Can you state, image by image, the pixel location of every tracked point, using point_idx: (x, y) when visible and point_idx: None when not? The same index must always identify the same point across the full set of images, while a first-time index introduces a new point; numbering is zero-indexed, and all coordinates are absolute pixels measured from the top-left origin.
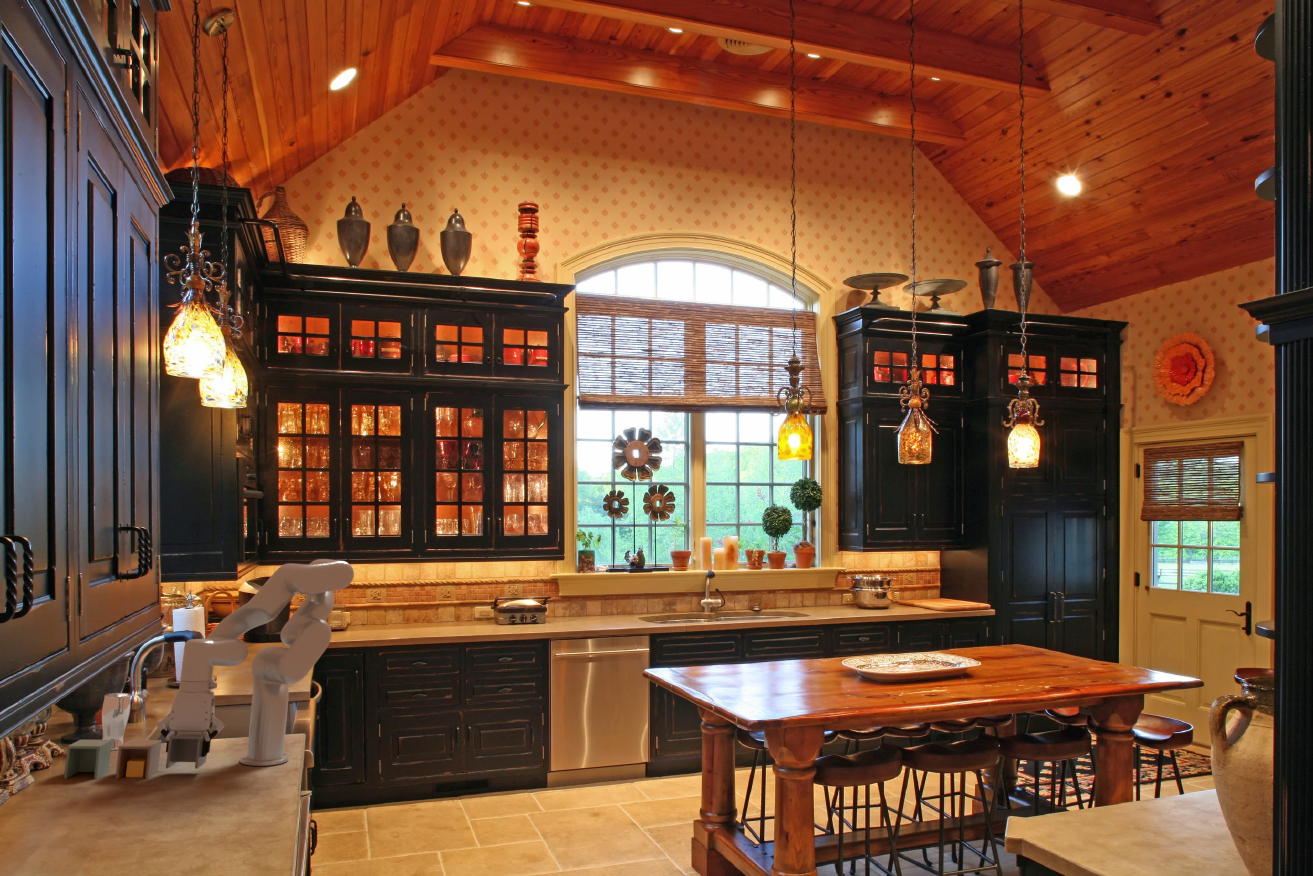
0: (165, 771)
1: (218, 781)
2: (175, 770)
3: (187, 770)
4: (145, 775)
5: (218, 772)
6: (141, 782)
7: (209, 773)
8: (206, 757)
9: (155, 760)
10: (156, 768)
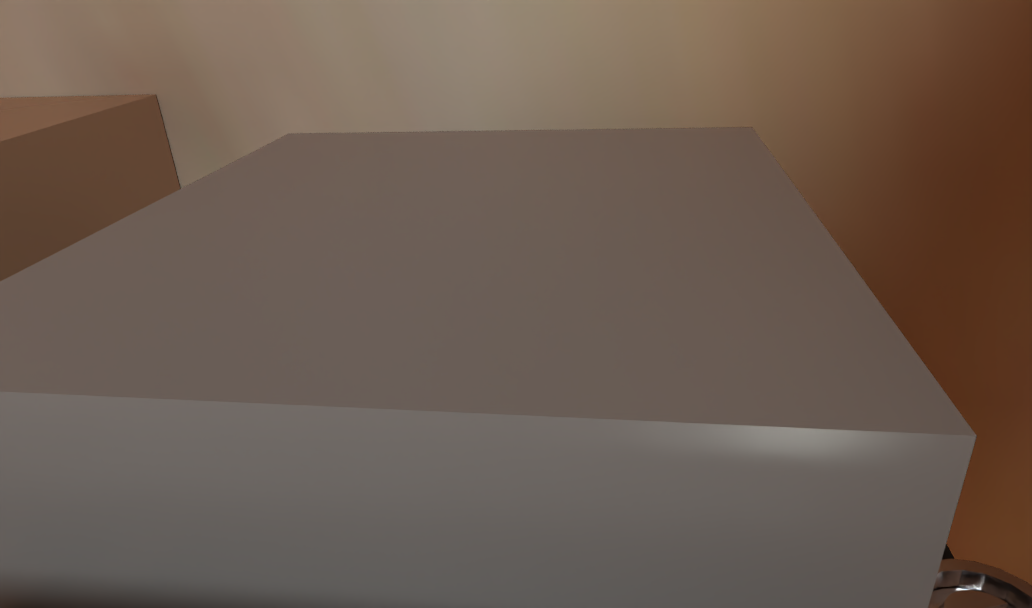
0: (238, 92)
1: (960, 522)
2: (328, 34)
3: (477, 28)
4: None
5: (930, 134)
6: None
7: (810, 189)
8: (764, 145)
9: None
10: (144, 179)
